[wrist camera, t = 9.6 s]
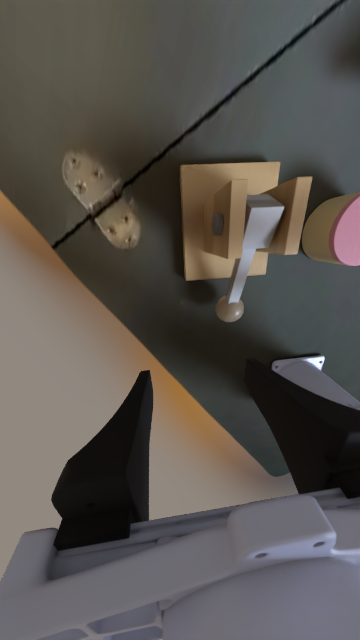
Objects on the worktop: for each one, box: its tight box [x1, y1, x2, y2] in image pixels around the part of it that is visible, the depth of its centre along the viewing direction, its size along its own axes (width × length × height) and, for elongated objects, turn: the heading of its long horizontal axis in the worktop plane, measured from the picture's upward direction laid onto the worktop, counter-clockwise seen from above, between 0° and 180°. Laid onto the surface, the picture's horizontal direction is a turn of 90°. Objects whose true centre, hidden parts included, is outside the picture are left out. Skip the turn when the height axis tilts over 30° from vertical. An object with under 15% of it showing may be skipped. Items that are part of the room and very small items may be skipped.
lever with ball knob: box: [216, 194, 285, 322], centre depth 17 cm, size 12×3×3 cm, turn 3°
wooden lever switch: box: [180, 162, 312, 281], centre depth 15 cm, size 10×9×8 cm
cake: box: [302, 192, 360, 266], centre depth 18 cm, size 6×6×4 cm
